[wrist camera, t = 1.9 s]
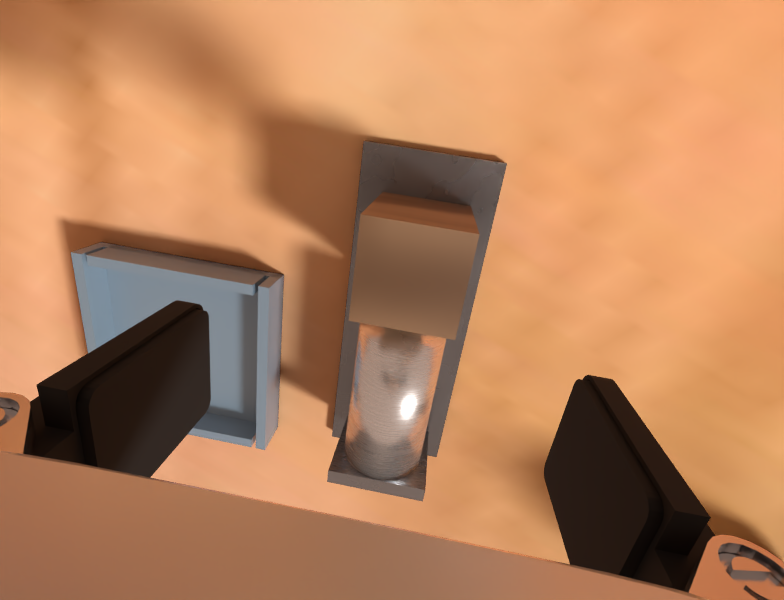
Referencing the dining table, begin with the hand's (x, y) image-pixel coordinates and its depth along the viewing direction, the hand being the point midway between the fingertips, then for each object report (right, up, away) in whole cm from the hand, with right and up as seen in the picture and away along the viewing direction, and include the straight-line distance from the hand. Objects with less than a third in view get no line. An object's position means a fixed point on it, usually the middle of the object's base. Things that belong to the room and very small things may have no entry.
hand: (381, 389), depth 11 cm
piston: (+1, -2, +15) cm, 15 cm away
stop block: (+2, +5, +11) cm, 13 cm away
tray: (-12, 0, +16) cm, 20 cm away
